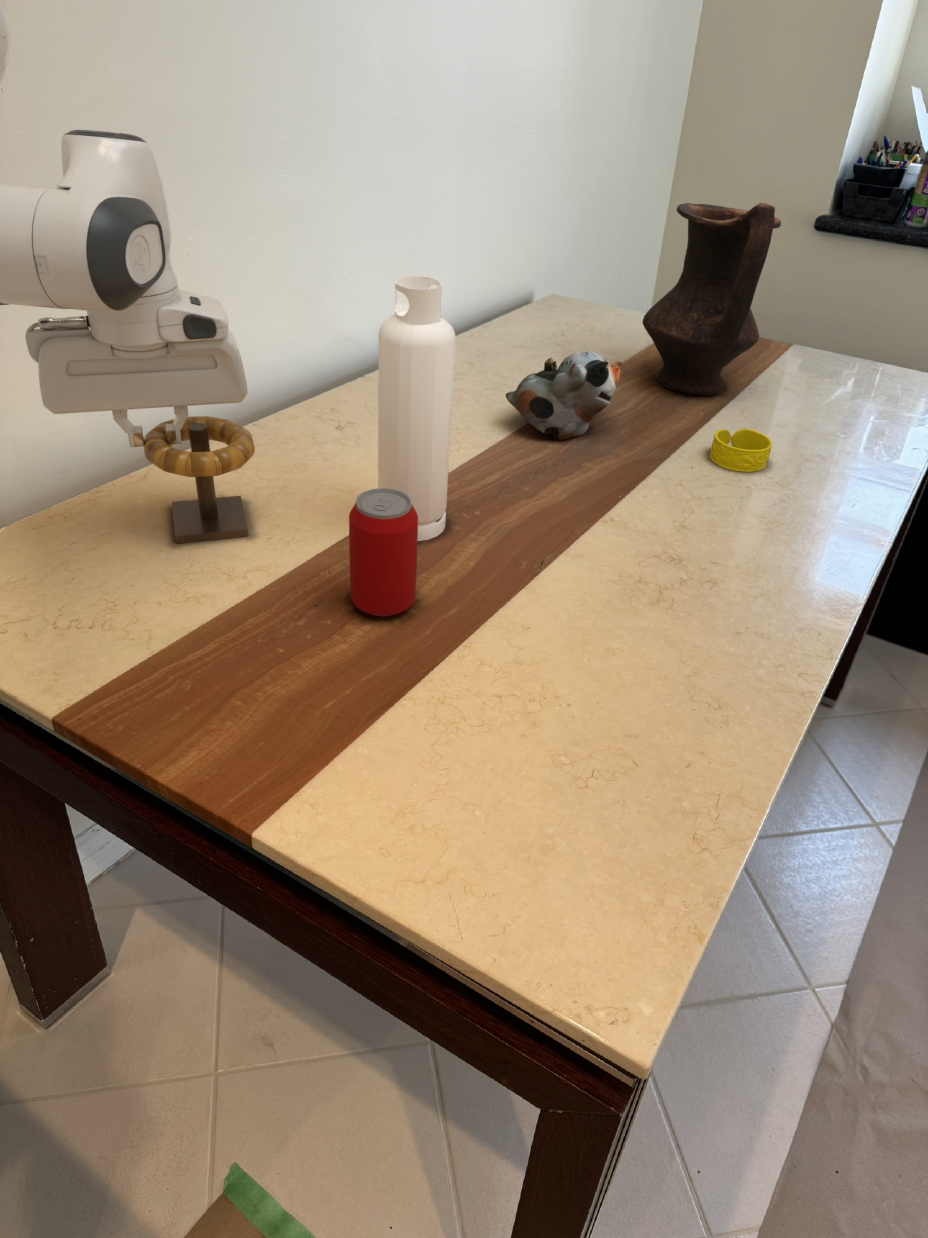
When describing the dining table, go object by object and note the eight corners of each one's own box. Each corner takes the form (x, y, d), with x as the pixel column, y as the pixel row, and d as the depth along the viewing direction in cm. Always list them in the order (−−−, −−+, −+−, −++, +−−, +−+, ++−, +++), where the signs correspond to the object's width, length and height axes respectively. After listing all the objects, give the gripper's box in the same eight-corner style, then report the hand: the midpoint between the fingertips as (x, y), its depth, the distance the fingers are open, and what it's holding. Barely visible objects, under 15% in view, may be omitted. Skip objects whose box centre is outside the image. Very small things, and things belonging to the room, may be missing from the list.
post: (176, 543, 98) (160, 445, 91) (172, 508, 104) (157, 414, 97) (248, 536, 100) (239, 439, 93) (241, 502, 106) (231, 409, 99)
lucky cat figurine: (539, 397, 138) (594, 323, 130) (590, 448, 135) (649, 376, 127) (489, 396, 126) (546, 315, 118) (544, 453, 123) (606, 373, 115)
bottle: (457, 532, 103) (473, 290, 87) (397, 547, 100) (401, 298, 83) (424, 501, 109) (434, 268, 92) (366, 515, 105) (364, 275, 89)
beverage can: (424, 593, 93) (429, 493, 86) (400, 628, 88) (402, 525, 81) (366, 578, 95) (366, 479, 87) (339, 612, 89) (336, 509, 82)
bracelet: (776, 470, 122) (782, 449, 120) (724, 473, 120) (730, 452, 118) (750, 447, 128) (756, 426, 126) (701, 450, 126) (706, 428, 124)
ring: (146, 483, 91) (143, 460, 89) (144, 435, 99) (141, 413, 98) (260, 478, 94) (259, 456, 93) (248, 431, 103) (247, 411, 101)
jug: (615, 365, 152) (648, 174, 134) (711, 362, 156) (755, 177, 138) (666, 415, 135) (710, 206, 118) (772, 410, 140) (830, 207, 122)
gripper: (17, 329, 81) (50, 464, 89) (242, 321, 87) (254, 448, 95) (23, 308, 86) (54, 438, 94) (236, 301, 91) (247, 424, 100)
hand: (156, 443), depth 94 cm, fingers closed on ring, 2 cm apart
